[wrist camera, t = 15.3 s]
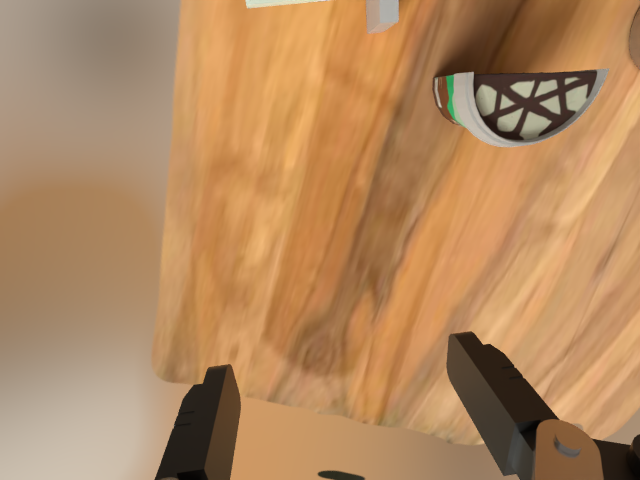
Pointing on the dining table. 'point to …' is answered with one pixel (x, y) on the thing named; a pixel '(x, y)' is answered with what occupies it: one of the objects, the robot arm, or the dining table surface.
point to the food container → (516, 103)
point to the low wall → (381, 15)
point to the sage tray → (275, 2)
